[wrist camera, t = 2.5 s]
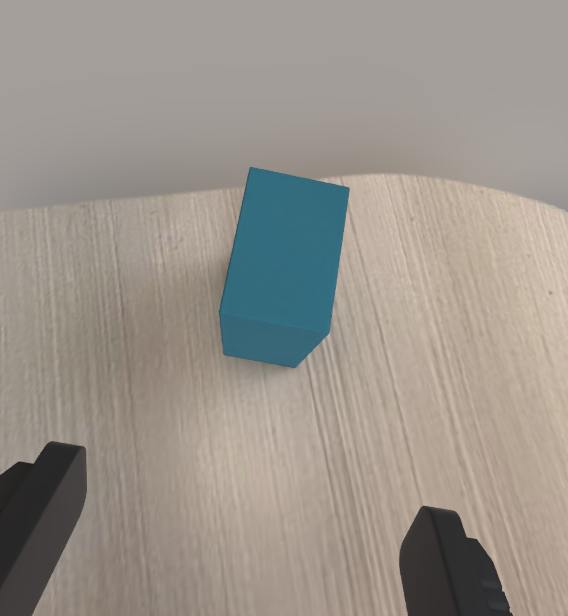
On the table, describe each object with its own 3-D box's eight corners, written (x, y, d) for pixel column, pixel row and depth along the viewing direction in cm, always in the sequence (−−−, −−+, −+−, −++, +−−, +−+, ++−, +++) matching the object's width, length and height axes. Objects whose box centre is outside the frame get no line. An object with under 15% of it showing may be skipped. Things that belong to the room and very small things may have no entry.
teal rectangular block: (223, 354, 25) (218, 313, 16) (243, 253, 26) (249, 166, 18) (295, 368, 25) (329, 333, 16) (311, 266, 27) (350, 186, 18)
